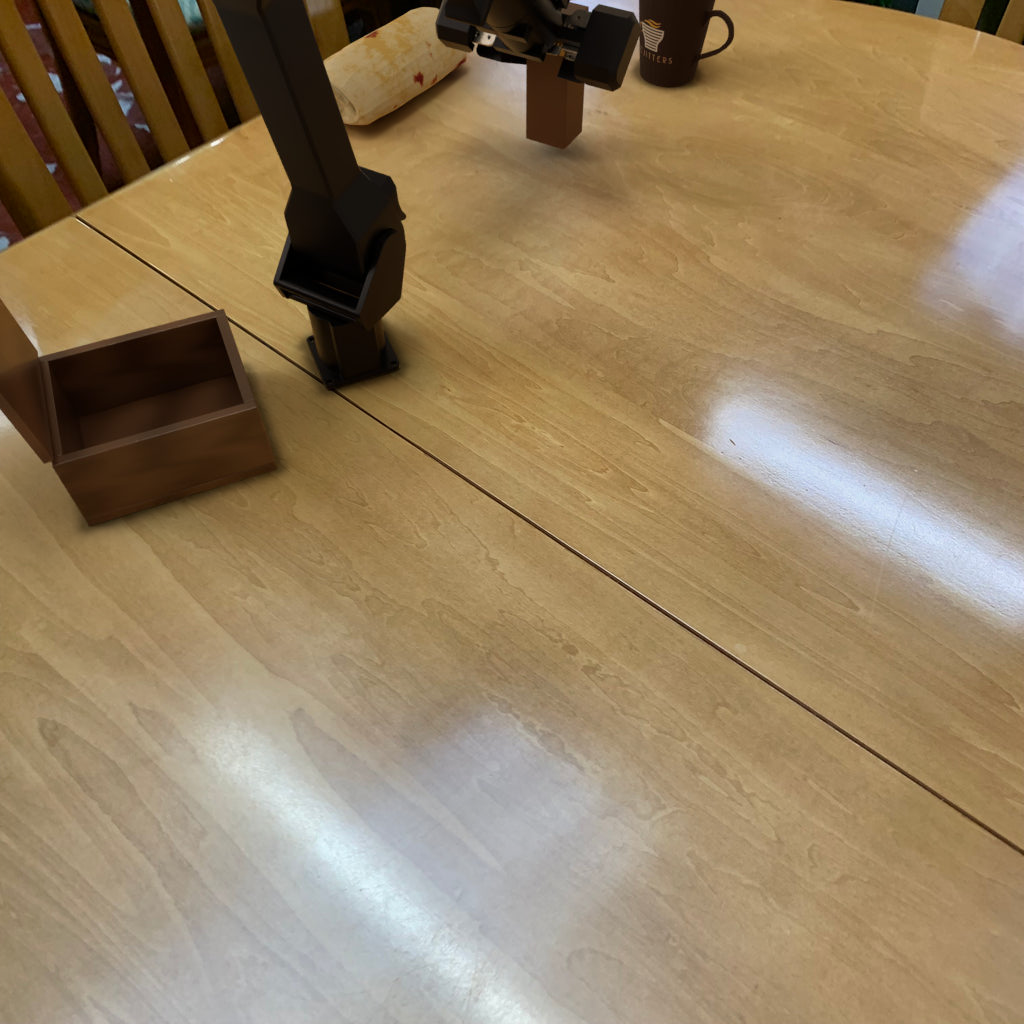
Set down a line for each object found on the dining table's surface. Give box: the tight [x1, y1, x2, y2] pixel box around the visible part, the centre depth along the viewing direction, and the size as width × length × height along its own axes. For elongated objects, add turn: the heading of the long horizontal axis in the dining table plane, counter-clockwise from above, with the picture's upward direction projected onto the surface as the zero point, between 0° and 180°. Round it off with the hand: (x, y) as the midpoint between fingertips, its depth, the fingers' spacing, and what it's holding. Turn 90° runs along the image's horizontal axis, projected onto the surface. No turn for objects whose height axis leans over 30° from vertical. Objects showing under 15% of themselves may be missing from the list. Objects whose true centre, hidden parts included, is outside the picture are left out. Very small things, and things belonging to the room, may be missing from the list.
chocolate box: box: [525, 1, 590, 151], centre depth 91 cm, size 4×5×12 cm
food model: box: [323, 6, 468, 126], centre depth 102 cm, size 10×7×20 cm
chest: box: [38, 308, 278, 527], centre depth 70 cm, size 14×12×7 cm
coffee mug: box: [638, 0, 735, 88], centre depth 102 cm, size 12×9×10 cm
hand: (562, 66), depth 91 cm, fingers closed on chocolate box, 4 cm apart
